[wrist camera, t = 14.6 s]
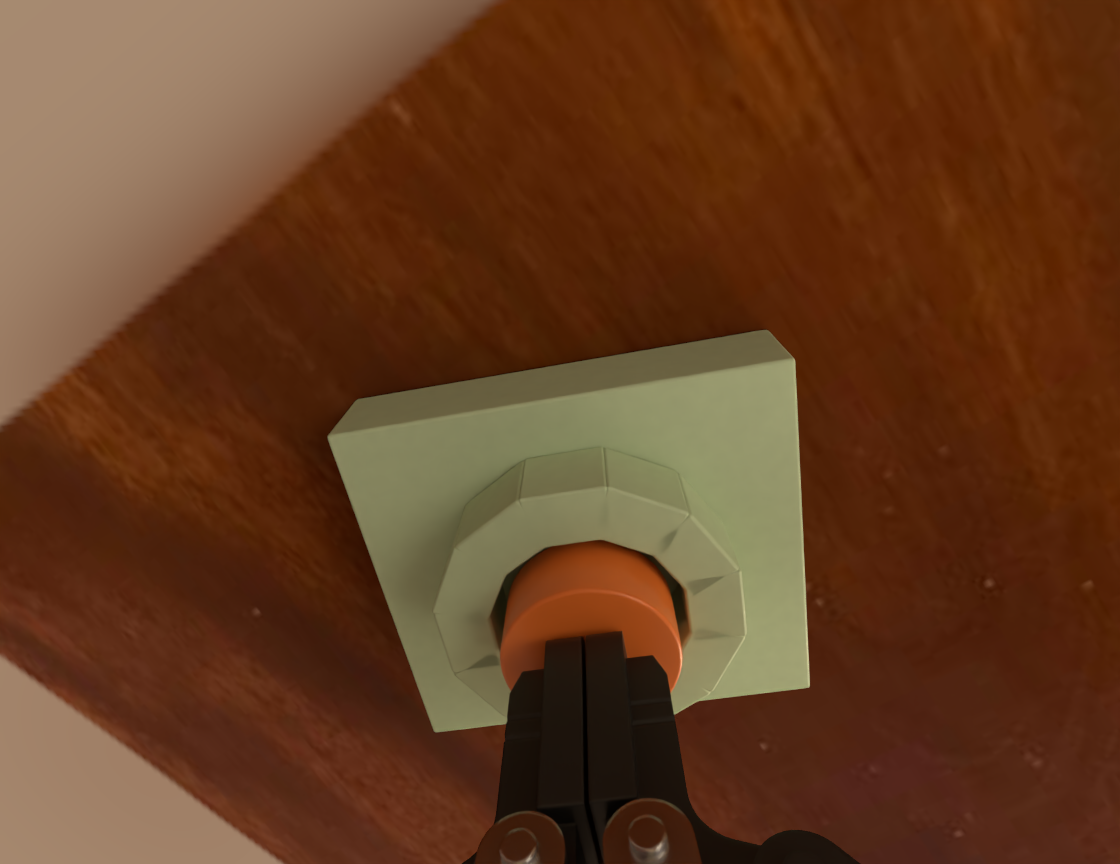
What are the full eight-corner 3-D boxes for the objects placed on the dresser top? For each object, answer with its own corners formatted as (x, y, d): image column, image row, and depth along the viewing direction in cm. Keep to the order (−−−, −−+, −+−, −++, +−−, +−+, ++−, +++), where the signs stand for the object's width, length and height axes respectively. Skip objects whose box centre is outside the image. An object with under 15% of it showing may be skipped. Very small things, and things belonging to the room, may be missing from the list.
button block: (447, 673, 20) (419, 794, 17) (355, 398, 17) (292, 476, 13) (786, 630, 19) (835, 748, 16) (767, 328, 16) (826, 390, 12)
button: (526, 677, 16) (520, 739, 14) (491, 550, 14) (480, 604, 13) (680, 658, 15) (692, 719, 14) (661, 525, 14) (672, 577, 12)
